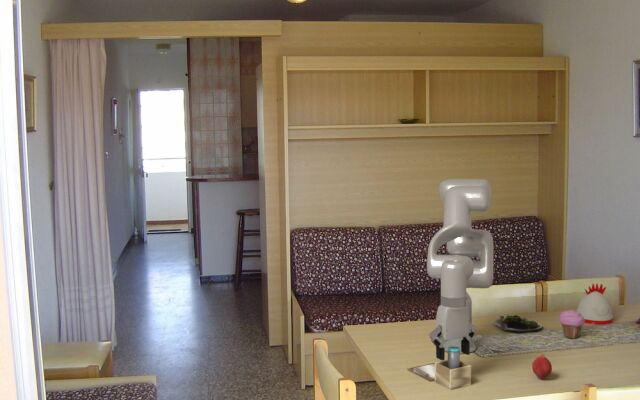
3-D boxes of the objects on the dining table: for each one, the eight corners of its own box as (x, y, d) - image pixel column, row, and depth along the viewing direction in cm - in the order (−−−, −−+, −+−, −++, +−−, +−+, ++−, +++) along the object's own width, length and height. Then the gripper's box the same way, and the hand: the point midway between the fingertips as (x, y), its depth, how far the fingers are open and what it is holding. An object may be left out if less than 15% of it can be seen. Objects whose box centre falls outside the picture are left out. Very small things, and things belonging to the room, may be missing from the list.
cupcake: (576, 342, 241) (577, 315, 240) (554, 336, 248) (554, 310, 247) (588, 336, 247) (589, 310, 246) (566, 331, 254) (567, 306, 253)
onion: (528, 376, 208) (529, 351, 207) (546, 375, 209) (547, 350, 208) (536, 382, 203) (537, 357, 202) (554, 382, 203) (555, 356, 202)
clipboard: (446, 361, 223) (446, 357, 222) (470, 372, 212) (470, 368, 212) (407, 369, 215) (407, 366, 215) (430, 381, 204) (430, 377, 204)
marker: (454, 378, 205) (454, 345, 204) (462, 382, 202) (462, 348, 201) (444, 380, 204) (445, 347, 203) (452, 384, 200) (452, 351, 199)
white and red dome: (618, 324, 262) (619, 287, 261) (583, 325, 263) (584, 287, 261) (604, 315, 276) (605, 279, 275) (570, 315, 276) (571, 279, 275)
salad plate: (482, 321, 270) (482, 310, 269) (522, 318, 273) (523, 307, 273) (505, 335, 251) (506, 323, 250) (548, 332, 255) (548, 320, 254)
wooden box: (454, 377, 208) (454, 358, 208) (470, 385, 201) (471, 365, 201) (434, 381, 204) (434, 362, 204) (450, 390, 198) (451, 370, 197)
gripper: (467, 294, 208) (466, 348, 210) (422, 302, 200) (422, 357, 202) (483, 300, 201) (483, 355, 203) (438, 308, 193) (438, 365, 195)
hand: (452, 356), depth 202 cm, fingers open, 9 cm apart
